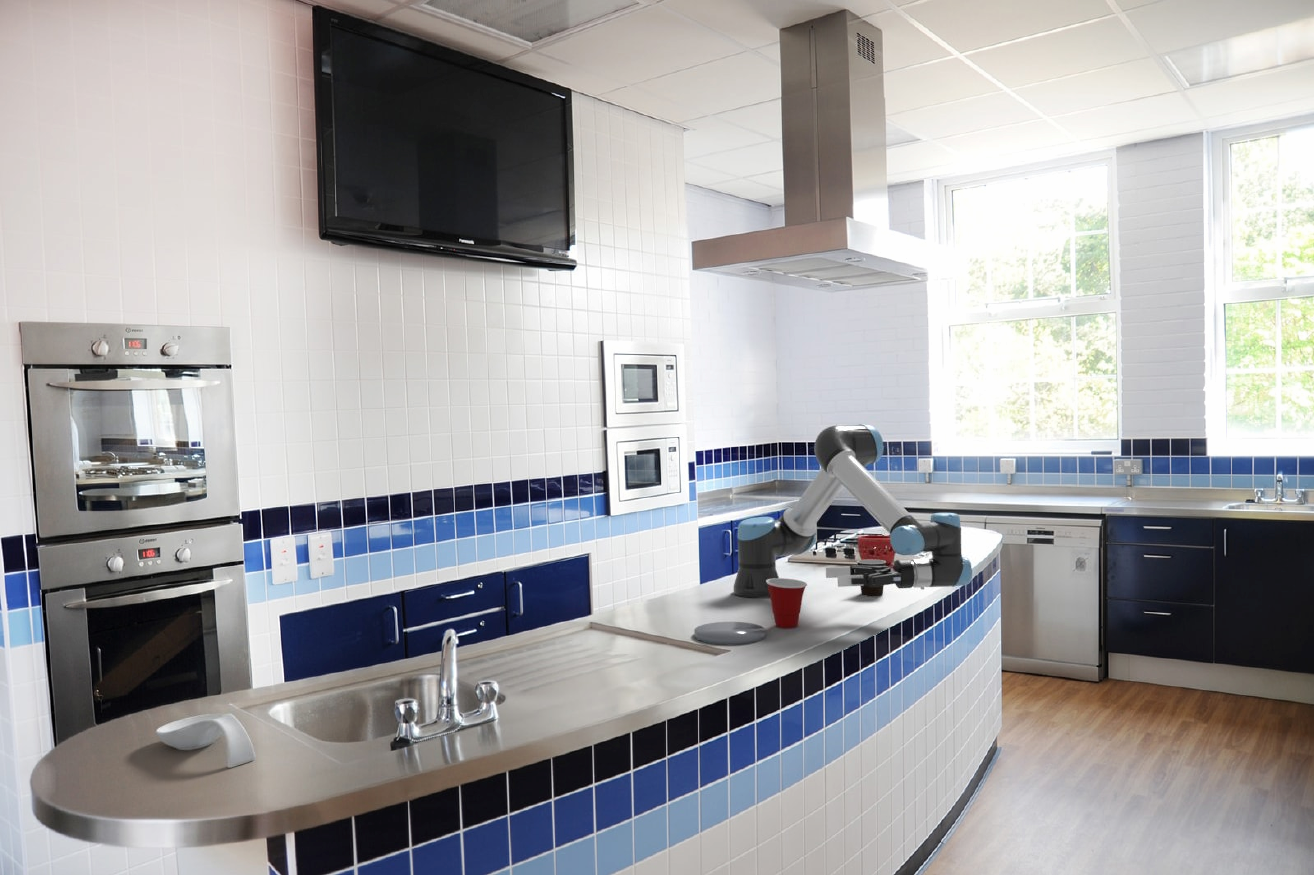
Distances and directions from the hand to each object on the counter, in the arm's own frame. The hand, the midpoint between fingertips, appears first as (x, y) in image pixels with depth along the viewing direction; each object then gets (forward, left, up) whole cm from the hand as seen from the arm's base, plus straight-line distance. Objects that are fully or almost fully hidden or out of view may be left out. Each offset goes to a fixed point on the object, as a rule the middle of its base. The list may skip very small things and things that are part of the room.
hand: (831, 576), depth 237 cm
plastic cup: (-4, -11, -13) cm, 18 cm away
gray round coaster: (0, -30, -13) cm, 32 cm away
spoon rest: (+40, -143, -13) cm, 149 cm away
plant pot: (-68, +53, -13) cm, 87 cm away
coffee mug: (-32, +29, -13) cm, 44 cm away
